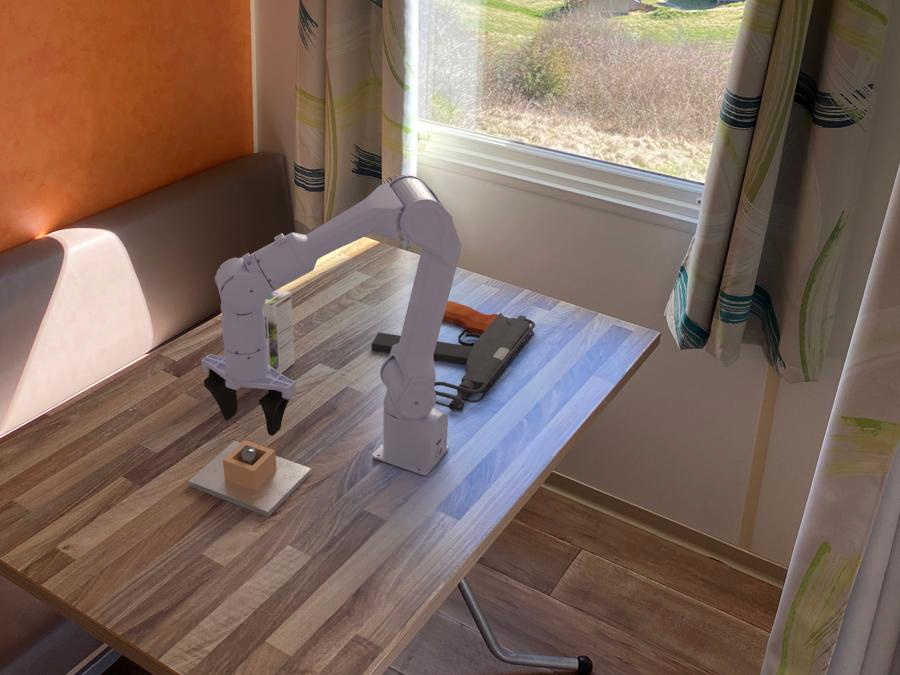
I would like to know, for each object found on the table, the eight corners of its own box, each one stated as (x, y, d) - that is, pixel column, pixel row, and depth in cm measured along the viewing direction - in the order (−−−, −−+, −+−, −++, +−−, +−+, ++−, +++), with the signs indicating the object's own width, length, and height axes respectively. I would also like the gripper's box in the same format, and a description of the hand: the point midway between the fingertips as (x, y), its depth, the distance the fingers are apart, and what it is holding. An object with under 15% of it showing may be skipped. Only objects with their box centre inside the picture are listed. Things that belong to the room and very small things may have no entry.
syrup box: (249, 369, 170) (243, 296, 162) (269, 353, 174) (264, 282, 167) (275, 378, 168) (271, 305, 160) (296, 362, 172) (292, 290, 165)
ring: (276, 469, 145) (275, 450, 143) (255, 490, 141) (254, 471, 139) (246, 459, 147) (244, 439, 145) (224, 479, 143) (222, 460, 141)
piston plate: (311, 473, 146) (309, 444, 143) (268, 517, 138) (266, 487, 135) (234, 445, 151) (232, 417, 149) (188, 486, 143) (185, 456, 140)
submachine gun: (419, 289, 193) (538, 319, 184) (419, 301, 194) (537, 331, 186) (338, 367, 168) (472, 405, 159) (338, 380, 169) (471, 419, 160)
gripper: (183, 343, 132) (193, 424, 140) (272, 371, 127) (278, 454, 134) (216, 320, 138) (224, 399, 145) (302, 346, 133) (306, 427, 140)
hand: (252, 424), depth 140 cm, fingers open, 7 cm apart
